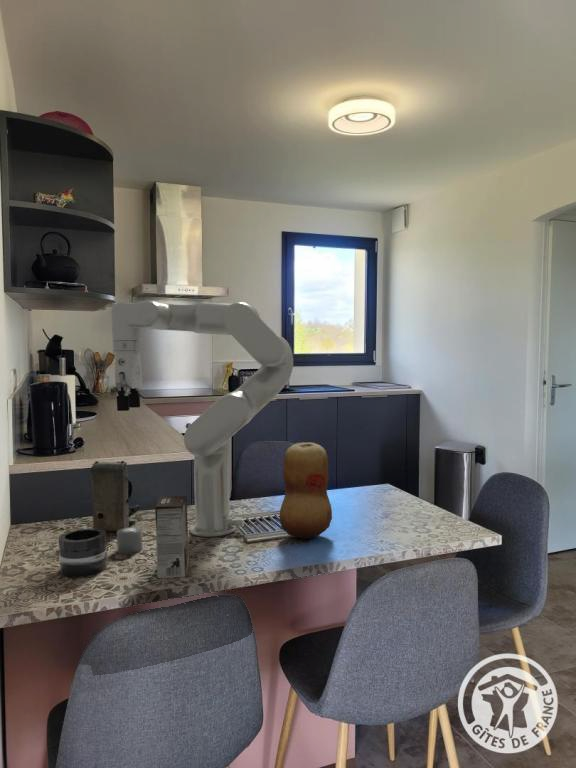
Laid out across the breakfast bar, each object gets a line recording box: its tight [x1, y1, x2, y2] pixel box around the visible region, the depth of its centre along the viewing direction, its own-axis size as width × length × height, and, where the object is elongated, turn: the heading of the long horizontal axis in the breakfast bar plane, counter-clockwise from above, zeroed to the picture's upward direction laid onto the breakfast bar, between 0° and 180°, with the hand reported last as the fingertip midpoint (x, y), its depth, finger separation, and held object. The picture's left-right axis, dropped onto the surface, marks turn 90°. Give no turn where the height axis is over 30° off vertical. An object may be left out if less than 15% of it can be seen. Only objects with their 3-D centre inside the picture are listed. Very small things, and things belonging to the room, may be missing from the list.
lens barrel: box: [58, 527, 108, 578], centre depth 134 cm, size 10×10×8 cm
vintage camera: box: [90, 460, 143, 533], centre depth 168 cm, size 10×16×20 cm, turn 174°
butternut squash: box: [279, 441, 333, 540], centre depth 153 cm, size 14×13×25 cm
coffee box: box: [154, 495, 190, 579], centre depth 132 cm, size 9×6×16 cm
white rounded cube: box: [116, 526, 143, 555], centre depth 146 cm, size 6×6×5 cm
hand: (129, 409), depth 162 cm, fingers open, 9 cm apart
